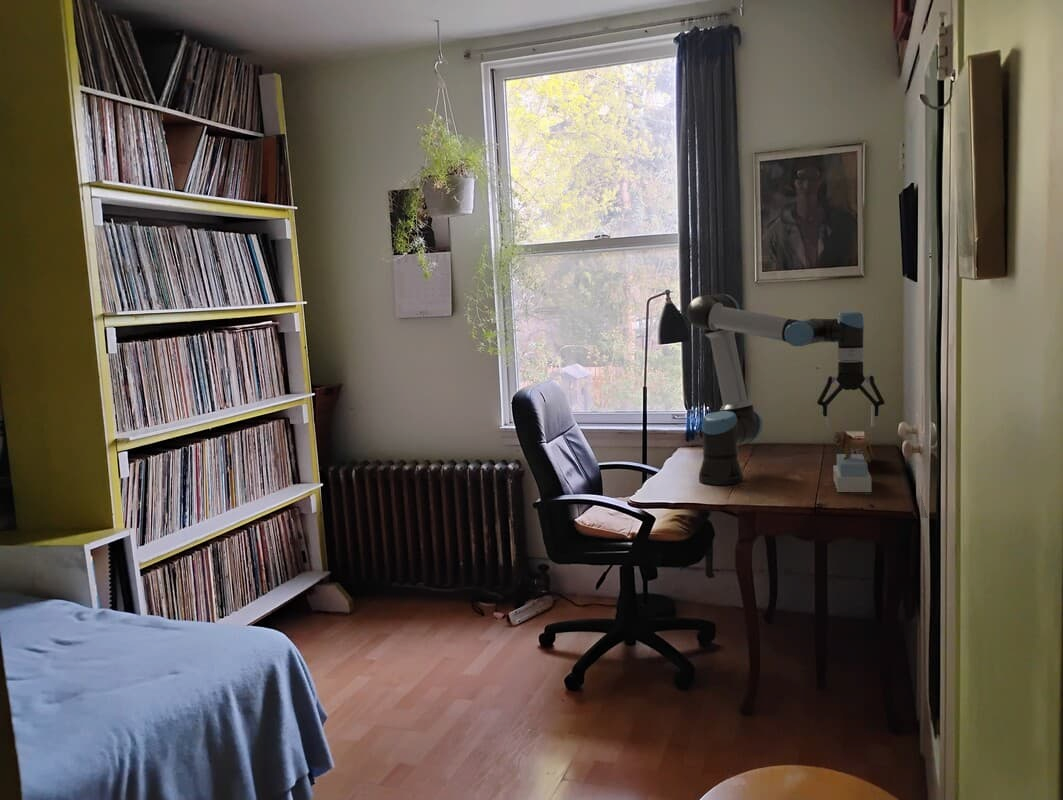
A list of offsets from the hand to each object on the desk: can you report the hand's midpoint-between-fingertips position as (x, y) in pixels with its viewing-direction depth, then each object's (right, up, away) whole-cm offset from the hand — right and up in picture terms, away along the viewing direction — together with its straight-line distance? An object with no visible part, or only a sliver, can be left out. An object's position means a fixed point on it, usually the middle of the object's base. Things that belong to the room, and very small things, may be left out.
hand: (850, 426), depth 273 cm
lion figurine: (+1, -11, 0) cm, 11 cm away
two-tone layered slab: (+1, -20, +2) cm, 20 cm away
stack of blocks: (+14, -15, +32) cm, 38 cm away
